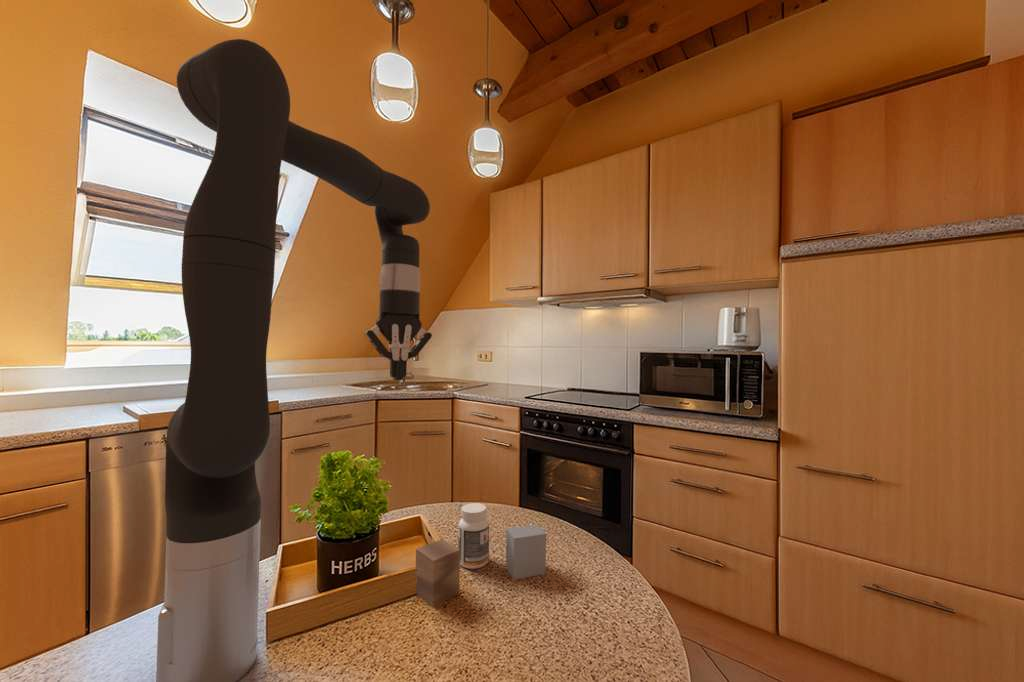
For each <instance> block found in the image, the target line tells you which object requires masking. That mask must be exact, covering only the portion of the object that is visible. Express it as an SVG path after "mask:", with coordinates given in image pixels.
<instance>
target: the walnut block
mask: <svg viewBox="0 0 1024 682" xmlns="http://www.w3.org/2000/svg"><path fill="white" fill-rule="evenodd" d="M460 567H461V565H460V549H458V547H456V546H454V544H451V543H450V542H448V541H446V540H444V539H443V538H441V539H439V540H436V541H433V542H430V543H428V544H425V545H423V546H420V547H418V548H415V569H416V568H417V582H416V583H417V585H416V593H415V594H416V595H417V596H419V597H420V599H422V600H423V601H424V602H426V604H428V605H429V606H430V607H431V608H434V607H436V606H438V605H439V604H442V603H444V602H446V601H448V600H450V599H452V598H453V597H456V596H457V595H459V594H460V573H461V571H460V570H461V569H460Z"/></svg>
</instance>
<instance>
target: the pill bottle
mask: <svg viewBox="0 0 1024 682" xmlns="http://www.w3.org/2000/svg"><path fill="white" fill-rule="evenodd" d="M487 512H488V510H487V506H486V505H485V504H484V503H480V502H479V503H478V502H477V503H476V502H474V503H473V502H472V503H467V504H464V505H463V506H462V507H461V510H460V516H461V518H460V520H459V522H458V524H457V525H458V526H457V527H458V533H457V534H458V537H457V539H458V540H457V541H458V543H457V546H458V547H457V548H458V549H460V567H463V568H465V569H471V570H474V569H480V568H483V567H484V566H486V565H487V564H488V563H489V560H490V522H489V519H488V518H487V517H486V515H487Z"/></svg>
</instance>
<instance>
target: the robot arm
mask: <svg viewBox="0 0 1024 682" xmlns="http://www.w3.org/2000/svg"><path fill="white" fill-rule="evenodd" d="M176 87H177V91H178V95H179V97H180V99H181V101H182V102H183V104H184V105H185V108H187V110H188V111H189V113H191V115H192V116H193V117H194V118H195V119H196V120H198V122H199V123H201V124H203V125H204V126H205V127H206V128H209V129H210V130H212V131H214V132H216V138H215V145H214V149H213V155H212V156H211V160H210V163H209V165H208V168H207V170H206V173H205V175H204V176H203V178H202V181H201V183H200V185H199V187H198V189H197V192H196V194H195V196H194V197H193V198H194V199H193V200H192V203H191V205H190V208H189V211H188V214H187V217H186V219H185V223H184V230H183V236H182V237H183V238H182V239H183V240H182V254H181V255H182V256H181V289H182V299H183V308H184V315H185V319H186V325H187V330H188V337H189V344H190V364H189V365H190V367H189V374H188V380H187V388H186V395H185V400H184V403H182V404H181V405H180V406H179V407H177V409H176V410H175V411H174V412H173V414H172V416H171V418H170V420H169V422H168V425H167V428H166V429H167V430H166V440H165V470H164V471H165V472H164V473H165V477H164V478H165V479H164V480H165V482H164V487H165V488H164V506H165V518H166V519H165V520H166V533H165V534H166V537H165V538H166V540H165V541H166V542H165V544H166V545H165V570H164V601H163V605H162V607H161V609H160V611H159V614H158V618H157V620H158V621H157V642H156V645H157V646H156V648H157V649H156V671H155V672H156V674H155V675H156V676H155V677H156V678H155V682H238V681H239V680H240V679H242V677H243V676H244V675H246V674H247V673H248V672H249V670H250V669H251V668H252V667H253V666H254V663H255V661H256V658H257V654H258V653H257V652H258V648H257V647H258V639H259V638H258V623H259V594H260V593H259V591H260V587H259V585H260V557H261V556H260V554H261V552H260V551H261V525H262V524H261V521H262V519H261V517H262V498H261V493H260V491H259V487H258V482H257V477H256V476H257V474H256V461H257V460H258V459H259V458H260V457H261V455H262V454H263V452H264V450H265V449H266V446H267V444H268V441H269V438H270V433H271V432H270V431H271V419H270V408H269V407H270V404H269V391H268V375H267V351H268V350H267V349H268V340H269V333H270V326H271V315H272V302H273V301H272V300H273V290H274V283H275V282H274V281H275V264H276V236H277V235H276V231H277V230H276V229H277V217H278V202H279V185H280V174H281V166H282V161H283V162H285V163H288V164H289V165H292V166H294V167H296V168H298V169H301V170H302V171H304V172H306V173H308V174H311V175H312V176H315V177H316V178H318V179H321V180H323V181H324V182H326V183H328V184H330V186H331V185H332V186H333V187H335V188H336V189H338V190H340V191H341V192H343V193H344V194H346V195H348V196H349V197H351V198H352V199H354V200H356V201H357V202H359V203H361V204H364V205H366V206H369V207H373V209H374V216H375V220H376V224H377V229H378V233H379V237H380V242H381V248H382V251H381V268H380V269H381V271H380V274H379V276H380V277H379V285H378V286H379V304H378V305H379V307H378V309H379V311H378V313H379V314H378V318H377V320H376V324H375V325H374V326H373V327H371V329H369V330H365V332H364V336H365V337H366V338H367V340H368V341H369V343H371V345H372V346H373V347H374V349H375V350H376V351H377V353H378V354H379V356H381V357H382V358H384V359H388V360H389V376H390V378H392V379H393V381H403V380H404V378H406V376H407V369H408V368H407V365H408V364H407V363H408V362H407V361H408V360H410V359H412V358H416V357H417V356H418V355H419V353H420V352H421V351H422V350H423V349H424V347H425V346H426V345H427V343H429V341H430V340H431V338H432V337H433V335H432V333H431V332H429V331H427V330H426V329H425V328H423V327H422V326H423V324H422V321H421V319H420V315H421V314H420V311H421V310H420V309H421V308H420V307H421V306H420V305H421V300H420V299H421V275H420V243H419V240H417V238H415V237H413V236H411V235H408V234H404V231H403V226H406V225H414V224H419V223H422V222H424V221H425V220H426V219H427V217H428V216H429V214H430V210H431V205H430V202H429V198H428V195H427V194H426V193H425V192H424V190H423V189H422V188H421V187H420V186H418V184H416V183H414V182H413V181H410V180H409V179H407V178H405V177H402V176H400V175H398V174H395V173H393V172H391V171H390V172H389V171H387V170H385V169H383V168H381V167H380V165H378V164H377V163H376V162H374V161H372V160H371V159H370V158H368V157H367V156H366V155H365V154H363V153H362V152H360V151H359V150H357V149H356V148H353V147H352V146H350V145H348V144H346V143H344V142H342V141H340V140H338V139H334V138H331V137H328V136H325V135H323V134H320V133H317V132H314V131H312V130H310V129H308V128H305V127H303V126H301V125H299V124H297V123H294V121H290V114H291V96H290V90H289V86H288V81H287V80H286V77H285V74H284V72H283V70H282V68H281V67H280V64H279V63H278V61H277V60H276V58H274V56H273V55H272V54H271V53H270V52H269V51H268V50H267V49H266V48H265V47H264V46H262V45H260V44H258V43H256V42H254V41H251V40H248V39H245V38H244V39H243V38H235V39H229V40H224V41H221V42H219V43H217V44H213V45H212V46H210V47H208V48H206V49H204V50H202V51H201V52H199V53H197V54H195V55H194V56H192V57H190V58H188V59H187V60H186V61H184V62H183V63H182V65H181V66H180V67H179V68H178V71H177V74H176ZM380 333H381V335H382V336H383V338H384V339H385V340H386V341H387V343H388V344H387V345H388V349H387V347H386V346H385V345H384V344H383V343H382V341H381V340H380V339H379V338H380V336H381V335H380ZM416 336H417V341H416V342H415V343H414V344H413V345H412V347H411V348H410V344H411V342H412V341H413V340H414V338H415V337H416Z"/></svg>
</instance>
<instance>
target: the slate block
mask: <svg viewBox="0 0 1024 682" xmlns="http://www.w3.org/2000/svg"><path fill="white" fill-rule="evenodd" d="M505 536H506V540H505V541H506V542H505V543H506V544H505V568H506V570H507V572H508V573H509V575H510V577H511V578H512V580H513V581H514V580H520V579H524V578H529V577H535V576H536V577H537V576H542V575H546V572H547V571H546V570H547V568H546V567H547V562H546V561H547V559H546V557H547V533H546V532H545V531H544V530H543V529H542V527H540V526H539V524H538V523H537V524H530V525H523V526H514V527H507V528H506V535H505Z"/></svg>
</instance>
